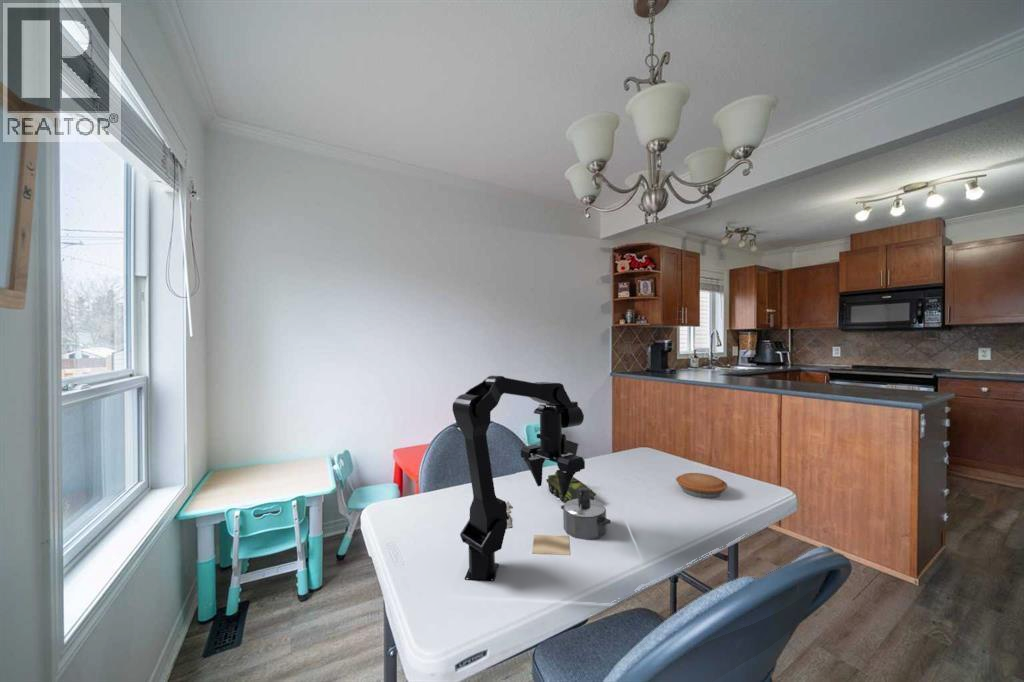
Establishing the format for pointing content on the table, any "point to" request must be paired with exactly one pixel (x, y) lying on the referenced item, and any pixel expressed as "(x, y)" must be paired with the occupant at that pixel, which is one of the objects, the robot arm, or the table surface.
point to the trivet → (551, 545)
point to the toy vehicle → (572, 490)
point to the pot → (585, 526)
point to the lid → (584, 505)
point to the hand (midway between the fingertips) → (551, 490)
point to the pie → (701, 485)
